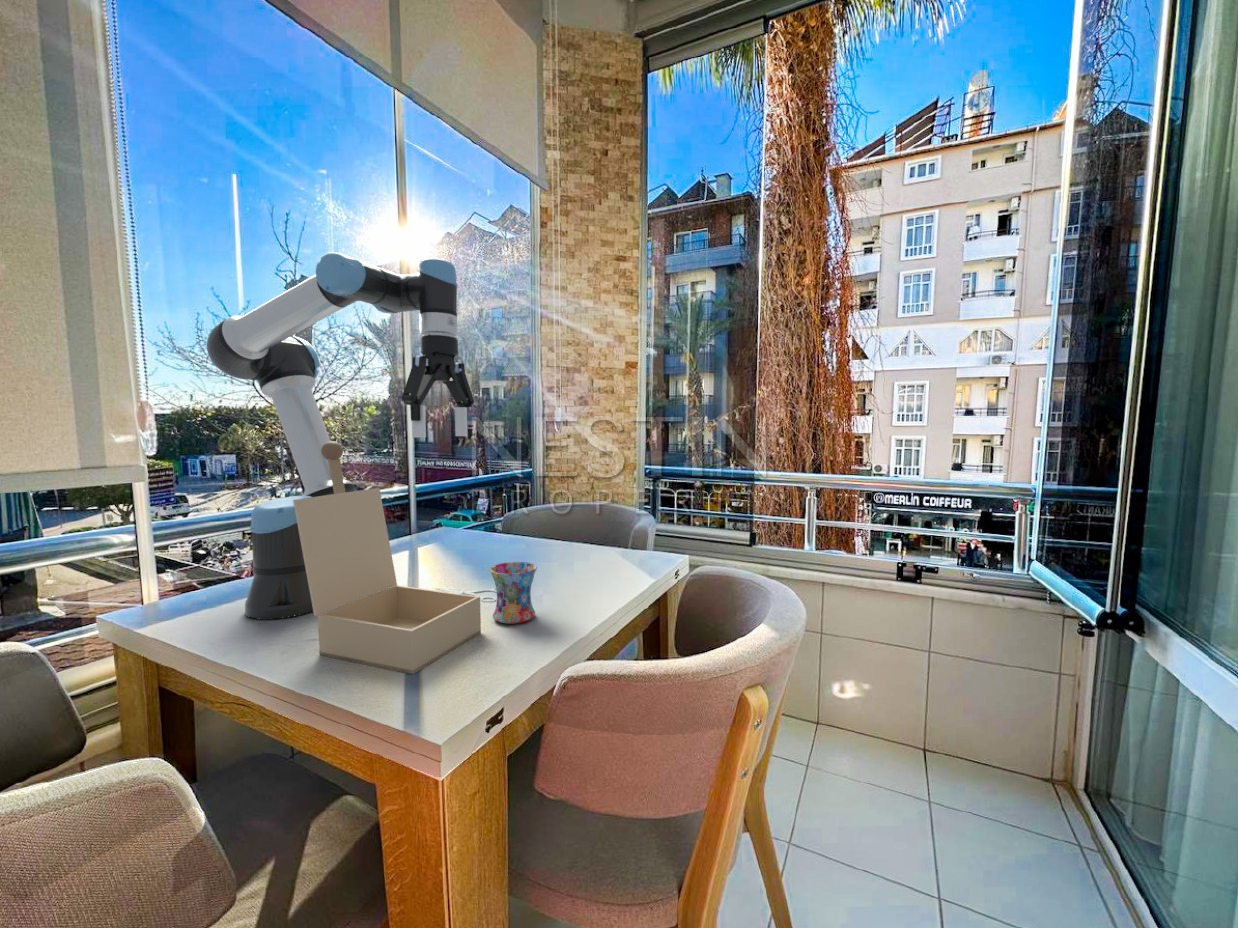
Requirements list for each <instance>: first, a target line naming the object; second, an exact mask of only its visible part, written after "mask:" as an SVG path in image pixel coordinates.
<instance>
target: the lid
mask: <svg viewBox="0 0 1238 928" xmlns="http://www.w3.org/2000/svg"><path fill="white" fill-rule="evenodd" d="M321 453H322V456H323V457H324V458H325V459H327V460H328V463H329V469H330V474H331V480H332V485H333V491H334V494H331V495H324V496H317V497H310V498H303V499H296V500H293V503H294V508H295V514H296V519H297V525H298V530H299V536H300V541H301V546H302V552H303V557H304V563H305V568H306V574H307V579H308V585H309V590H310V596H311V601H312V607H313V611H312V613H313V617H315V616H316V617H317V616H318V615H319V614H322V613H325V612H327V611H330V610H333V609H335V608H338V607H340V606H343V605H346V604H348V603H351V602H354V601H356V600H359V599H362V598H364V597H367V596H369V595H372V594H375V593H377V592H380V591H383V590H385V589H388V588H391V587H393V586H396V585H398V583H397V582H398V581H397V578H396V572H395V566H394V560H393V556H392V549H391V546H390V545H391V544H390V539H389V538H390V537H389V532H388V528H387V521H386V517H385V512H384V505H383V500H382V494H381V488H380V487H376V488H375V487H374V488H367V489H361V490H356V491H353V492H345V487H344V481H343V477H344V475H343V476H342V474H343V470H342V465H341V460H340V459H341V457H342V456H343V453H344V448H343V446H342V445H341V444H340V443H339V442H337V441H335V440H333V441H331V440H330V442H327V443H325V444H324V445H323V446H322V448H321Z"/></svg>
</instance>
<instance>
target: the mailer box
mask: <svg viewBox="0 0 1238 928" xmlns="http://www.w3.org/2000/svg"><path fill="white" fill-rule="evenodd" d="M481 615H482V613H481V599H480V597H479V595H477V596H472V595H464V594H457V593H453V592H448V591H443V590H436V589H429V588H427V589H425V588H417V587H412V586H406V585H398V584H397V585H396V586H393V587H390V588H388V589H385V590H382V591H380V592H377V593H375V594H372V595H369V596H367V597H364V598H361V599H359V600H356V601H353V602H351V603H348V604H346V605H343V606H340V607H338V608H335V609H332V610H330V611H327V612H324V613H322V614H319V615H317V626H318V649H319V650H318V651H319V652H318V653H319V656H323V657H328V658H333V659H337V660H338V659H339V660H342V661H348V662H351V663H357V664H361V665H366V666H371V667H375V668H376V667H377V668H382V669H385V670H390V671H395V672H401V673H404V674H409V675H414V674H416V673H418V672H419V671H421V670H423V669H424V668H426V667H427V666H429V665H431V664H432V663H434V662H436V661H437V660H439V659H441V658H442V657H444V656H446V655H448V653H451V652H452V651H454V650H456V649H457V648H459V647H460V646H462V645H463V644H465V643H467V642H468V641H470V640H471V639H473V638H475V637H476V636H478V635H480V634H481V632H482V631H481V630H482V629H481V628H482V625H481V622H482V621H481V620H482V619H481V617H482V616H481Z"/></svg>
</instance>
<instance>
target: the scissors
mask: <svg viewBox="0 0 1238 928" xmlns="http://www.w3.org/2000/svg"><path fill="white" fill-rule="evenodd" d="M432 590H437V591H443V592H450V593H457V594H464V595H472V596H479V595H477V594H478V593H480V594H481V593H486V592H487V593H488V592H490V593H491V592H493V593H496V594H497V590H496V587H493V588H490V589H481V590H468V591H465V590H463V591H460V590H453V589H445V588H435V587H434V588H433V587H432ZM479 597H480V602H483V603H493V602H497V597H495V596H494V597H493V596H481V595H480V596H479ZM485 599H491V600H485Z"/></svg>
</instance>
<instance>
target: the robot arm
mask: <svg viewBox="0 0 1238 928" xmlns="http://www.w3.org/2000/svg"><path fill="white" fill-rule="evenodd" d="M456 270H457V269H456V267H455V265H454V264H453V263H452V262H450V261H448V260H445V259H440V258H424V259H423V260H420V261H419V262H418V268H417V272H415V273H409V274H408V273H407V274H406V273H405V274H398V273H395V272H393V271H390V270H387V269H385V268H381V267H379V266H376V265H374V264H372V263H371V264H370V263H368V262H366V261H364V260H361V259H358V258H356V257H353V256H352V255H348V254H342V253H339V252H335V251H331V252H330V251H329V252H327V253H325V254H323V255H321V257H320V261H318V262H317V263H316V266H315V274H314V275H312V276H310V277H308V278H307V279H304V280H303V281H302V282H300V283H298V284H297V285H295V286H293V287H291V288H289V289H288V290H286V291H284V292H282V293H281V294H279V295H277V296H275V297H274V298H272V299H270V300H269V301H266V302H265V303H263V304H261V305H259V306H258V307H256V308H255V309H253V310H251V311H249V312H248V313H246V314H244V315H242V316H240V315H232V316H230V317H228V318H226V319H224V320H222V321H221V322H220V323H218V324H217V325H215V326H214V328H212V330H211V331H210V332H209V334H208V337H207V340H206V349H207V350H206V351H207V355H208V357H209V359H210V360H211V362H212V363H213V365H215V367H216V368H217V369H218V370H219V371H221V372H222V373H223V374H225V375H228V376H230V377H232V378H233V377H234V378H235V379H240V380H248V381H250V380H251V381H256V382H258V385H259V388H260V392H261V394H263V395H264V396H266V397H268V398H271V400H272V402H273V405H274V408H275V411H276V414H277V416H278V419H279V421H280V425H281V427H282V429H283V433H284V436H285V438H286V441H287V444H288V446H289V449H290V452H291V455H292V458H293V461H294V462H295V463H294V464H295V465H296V468H297V472H298V474H299V477H300V479H301V482H302V485H303V487H304V492H303V494H302V495H291V496H287V497H278V498H274V499H268V500H266V501H264V502H261V503H259V504H256V506H254V507H253V509H252V510H251V515H250V516H251V517H250V520H251V521H250V526H249V529H250V531H251V546H252V567H253V568H252V569H253V578H252V581H251V584H250V587H249V589H248V594H247V597H246V600H245V603H244V614H246V615H247V616H249V617H253V618H260V619H259V620H271V619H270V618H280V619H283V618H282V617H287V618H289V617H288V616H293V617H295V616H294V615H298V616H300V615H299V614H302V615H304V614H303V613H306V614H308V613H307V612H309V613H312V612H313V607H312V601H311V596H310V590H309V585H308V579H307V574H306V568H305V563H304V557H303V552H302V546H301V541H300V536H299V530H298V525H297V519H296V514H295V508H294V503H293V500H296V499H303V498H310V497H317V496H324V495H331V494H334V491H333V485H332V480H331V474H330V469H329V463H328V460H327V459H325V458H324V457H323V456H322V453H321V448H322V446H323V445H324V444H325V443H327V442H330V441H331V439H330V437H329V433H328V431H327V429H326V425H325V423H324V420H323V417H322V415H321V411H320V408H319V407H318V404H317V401H316V399H315V398H316V397H315V396H314V393H313V390H312V389H314V387H315V385H316V382H317V381H316V378H317V377H318V375H319V371H320V370H319V369H318V368H319V367H320V358H319V355H318V353H317V351H316V349H315V348H314V346H313V345H312V344H311V343H309V341H307V340H305V339H303V338H301V337H298V336H295V335H296V334H298V333H299V332H302V331H303V330H305V329H308V328H309V327H311V326H314V325H315V324H316V323H318V322H320V321H322V320H324V319H325V318H327V317H330V316H331V315H334V314H335V313H336V312H339V311H340V310H342V309H344V308H346V307H348V306H350V305H352V304H354V303H356V302H363V303H367V304H369V305H372V306H373V307H375V309H376V310H377V311H379V312H381V313H386V314H387V313H390V314H398V313H404V312H406V313H407V312H413V311H419V333H420V335H422V336H421V337H420V353H421V354H422V355H415V356H414V355H413V356H412V361H411V363H412V364H411V369H410V372H409V373H408V374H409V375H408V378H407V381H406V384H405V387H404V389H403V393H402V395H401V400H402V402H405V405H406V406H409V408H410V410H409V411H410V421H411V423H412V424H411V426H412V438H419V439H421V438H427V429H426V428H427V427H426V424H427V423H426V419H427V418H426V405H424V404H423V402H424V400H425V398H426V397H427V395H428V394H429V392H430V390H431V388H432V386H433V385H434V384H435V382H437V381H438V382H442V383H443V384H444V385H445V386H446V387H447V389H448V390H449V391H448V392H449V393H450V395H451V396H452V398H453V400H454V403H456V406H455V407H454V425H455V426H454V427H455V428H454V429H455V430H454V431H455V437H468V420H469V418H468V414H469V412H468V411H469V410H468V408H472V407H473V405H474V404H475V400H474V397H473V393H472V390H471V388H470V384H469V381H468V378H467V375H466V369H465V363H464V362H455V357H457V356H458V355H459V340H458V338H457V336H458V310H457V308H458V307H457V305H458V304H457V302H458V282H457V271H456ZM342 476H343V481H344V487H345V492H353V491H357V489H356V487H355V485H354V482H352V481H349V480H347V479H345V477H344V475H343V473H342ZM311 611H312V612H311ZM246 615H245V616H246ZM247 616H246V617H247ZM249 617H248V618H249ZM253 618H252V619H253Z"/></svg>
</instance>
